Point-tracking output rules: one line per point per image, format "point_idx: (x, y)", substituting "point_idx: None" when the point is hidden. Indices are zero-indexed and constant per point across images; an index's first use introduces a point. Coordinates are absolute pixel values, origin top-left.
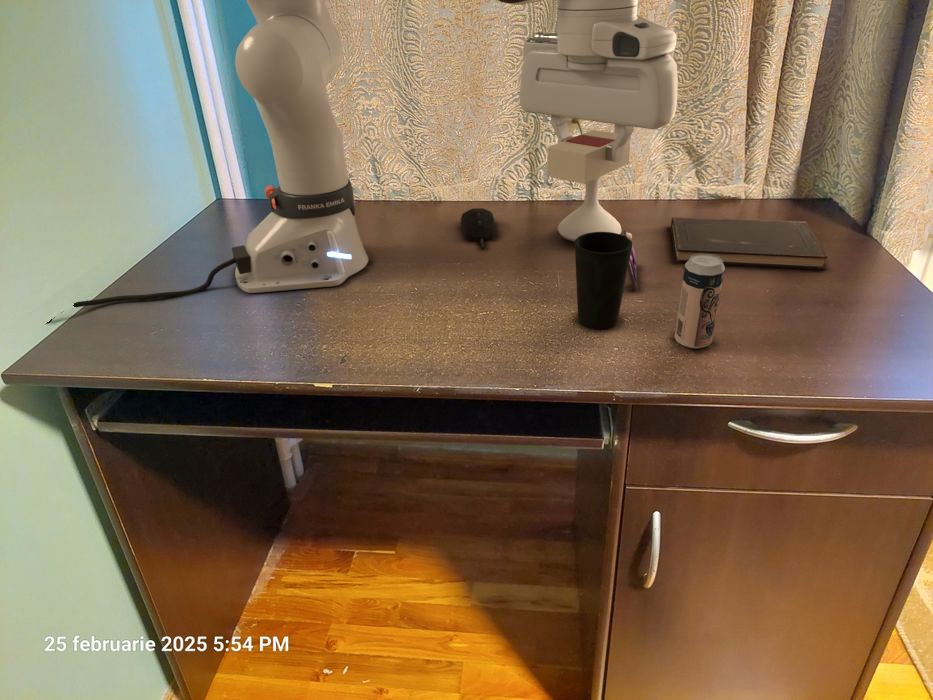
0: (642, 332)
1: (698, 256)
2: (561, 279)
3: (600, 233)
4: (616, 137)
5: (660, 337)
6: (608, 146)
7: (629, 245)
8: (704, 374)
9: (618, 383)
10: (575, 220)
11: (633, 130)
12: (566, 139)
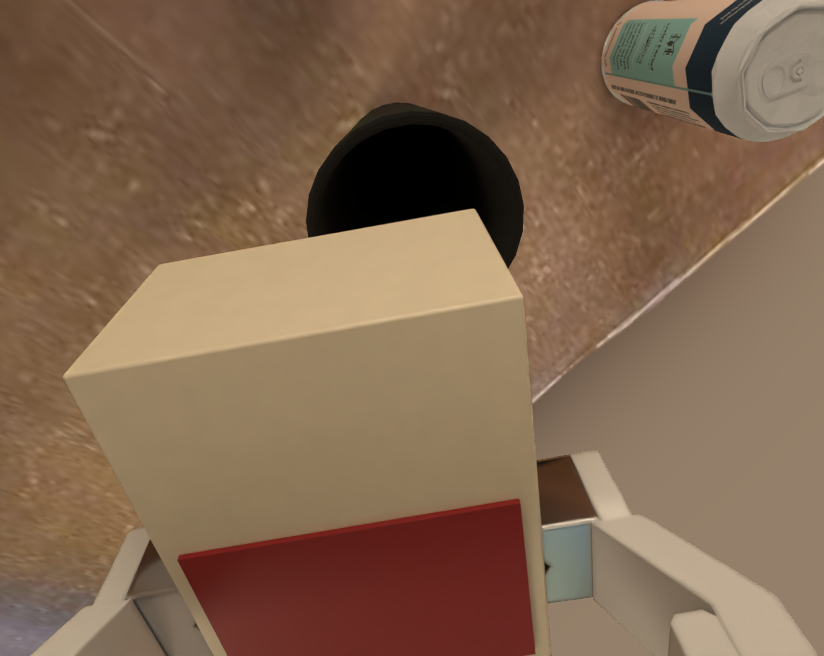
0: (521, 116)
1: (760, 55)
2: (124, 36)
3: (339, 160)
4: (461, 430)
5: (569, 100)
6: (562, 594)
7: (504, 174)
8: (723, 161)
9: (598, 316)
10: None
11: (780, 603)
12: (194, 652)
